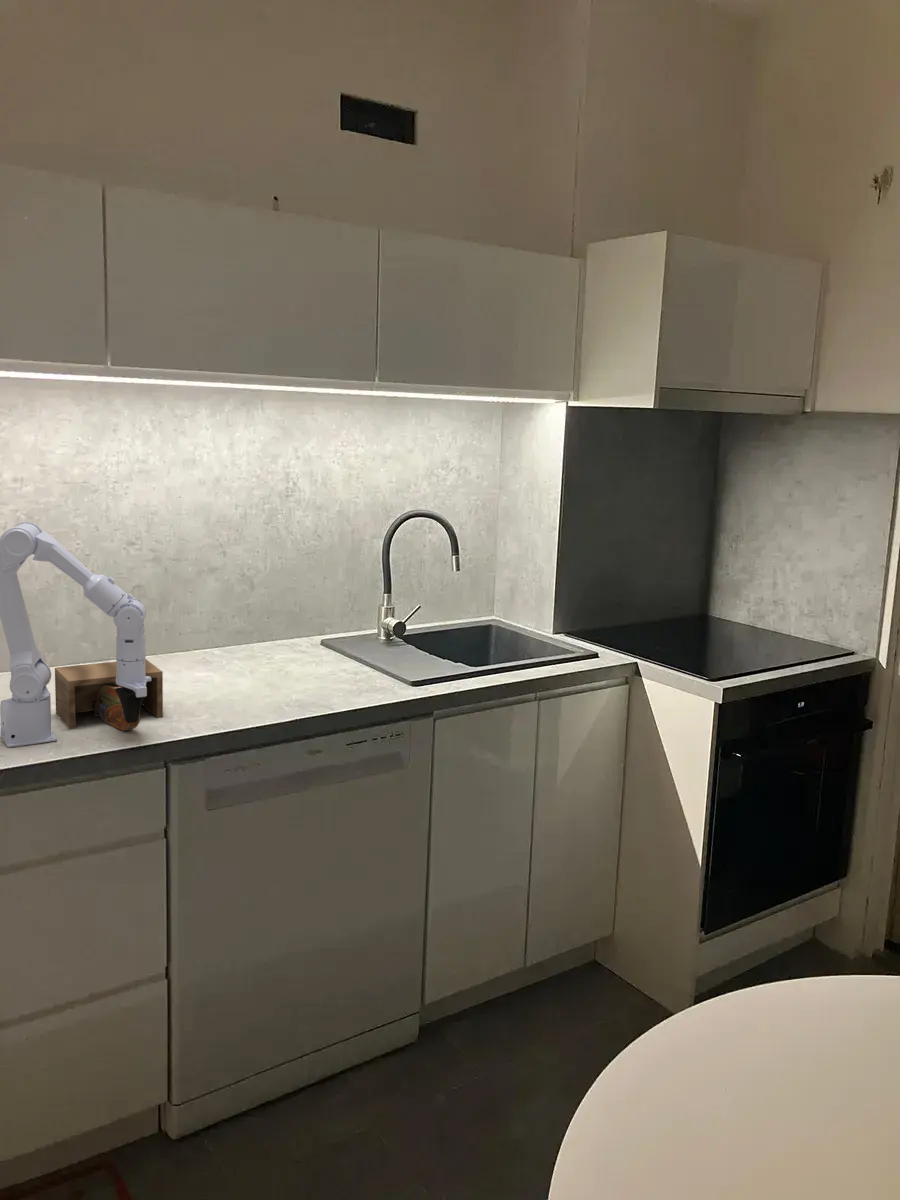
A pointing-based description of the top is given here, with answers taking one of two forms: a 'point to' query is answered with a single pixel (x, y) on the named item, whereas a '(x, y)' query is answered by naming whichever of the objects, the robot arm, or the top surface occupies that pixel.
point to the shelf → (84, 683)
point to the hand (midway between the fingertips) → (131, 721)
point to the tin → (113, 708)
